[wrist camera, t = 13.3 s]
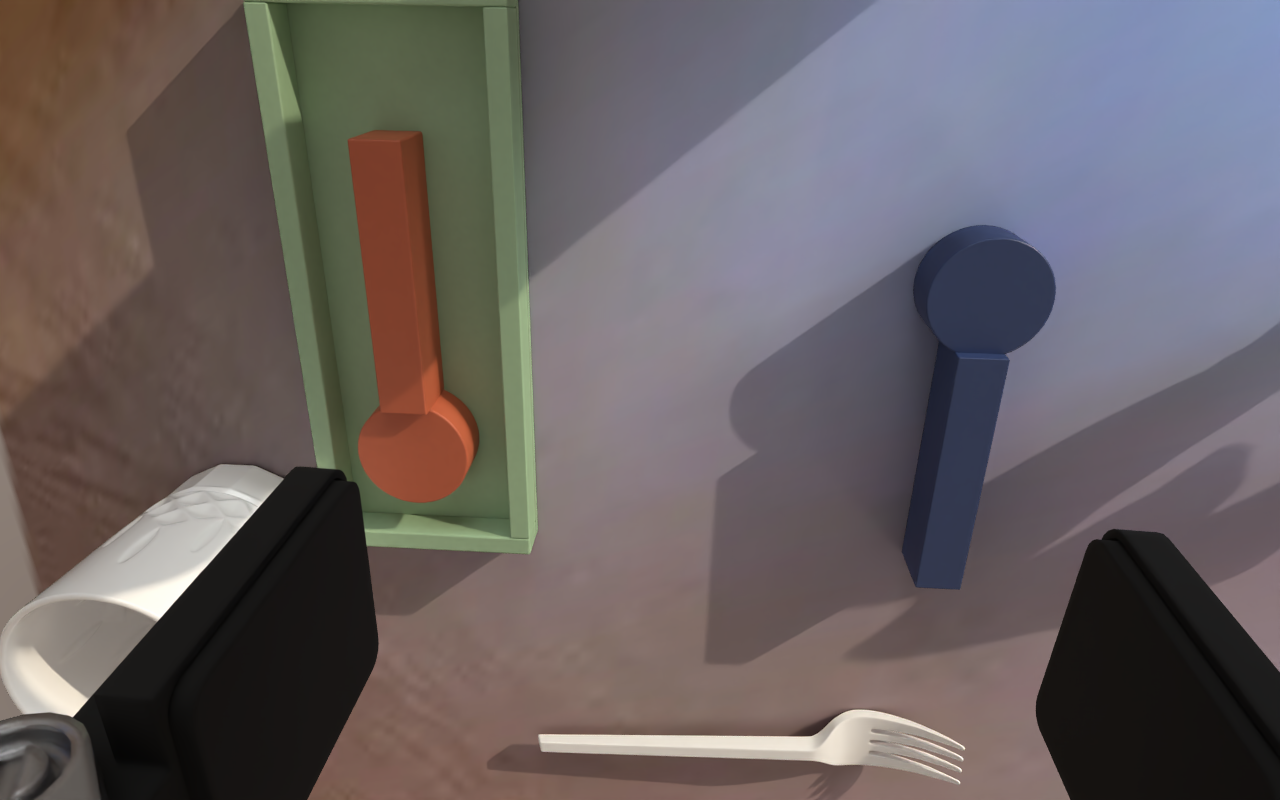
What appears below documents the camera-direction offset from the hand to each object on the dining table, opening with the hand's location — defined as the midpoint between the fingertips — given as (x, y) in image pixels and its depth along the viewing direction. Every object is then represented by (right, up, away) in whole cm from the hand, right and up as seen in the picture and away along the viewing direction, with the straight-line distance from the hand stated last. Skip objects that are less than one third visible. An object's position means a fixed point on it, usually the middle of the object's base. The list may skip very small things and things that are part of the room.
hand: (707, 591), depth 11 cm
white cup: (-18, -3, +27) cm, 33 cm away
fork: (+4, -14, +30) cm, 34 cm away
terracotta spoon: (-10, +5, +22) cm, 25 cm away
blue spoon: (+11, +3, +22) cm, 25 cm away
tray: (-9, +7, +22) cm, 25 cm away
